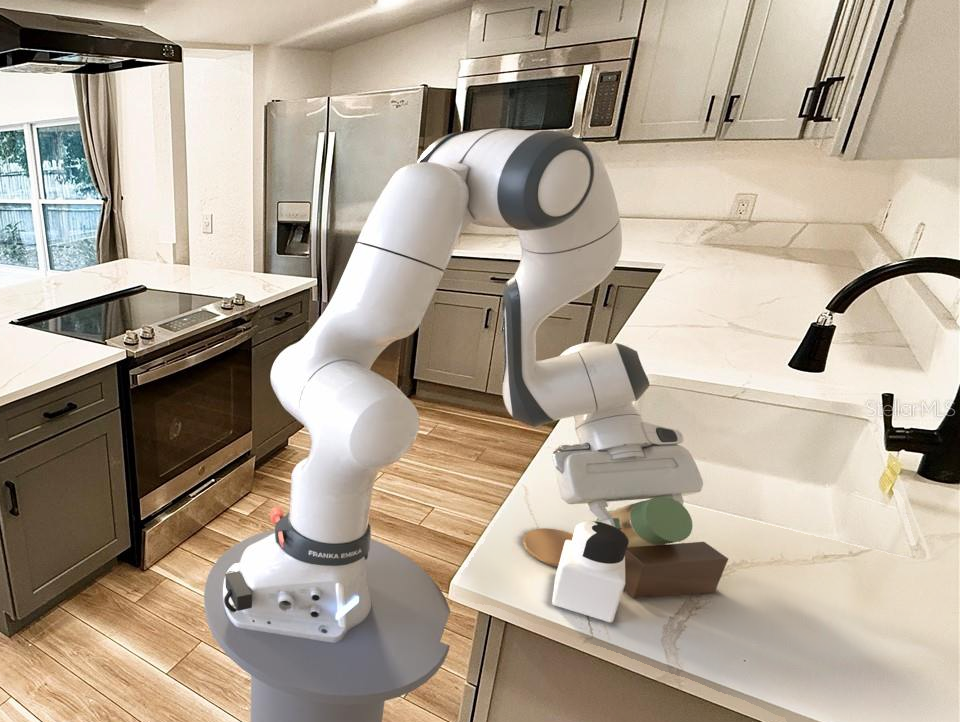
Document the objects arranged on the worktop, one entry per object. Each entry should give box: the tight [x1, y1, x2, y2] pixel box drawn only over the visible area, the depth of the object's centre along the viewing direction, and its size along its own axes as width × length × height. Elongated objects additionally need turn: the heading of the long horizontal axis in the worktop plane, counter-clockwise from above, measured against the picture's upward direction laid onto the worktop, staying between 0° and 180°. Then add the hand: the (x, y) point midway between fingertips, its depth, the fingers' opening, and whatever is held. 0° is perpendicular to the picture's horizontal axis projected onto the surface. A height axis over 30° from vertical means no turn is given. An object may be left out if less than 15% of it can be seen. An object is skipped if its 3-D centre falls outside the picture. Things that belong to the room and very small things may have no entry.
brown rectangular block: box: [623, 541, 729, 599], centre depth 92 cm, size 14×12×6 cm
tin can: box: [595, 497, 693, 547], centre depth 92 cm, size 12×7×12 cm, turn 3°
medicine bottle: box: [551, 520, 629, 623], centre depth 85 cm, size 7×7×12 cm
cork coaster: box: [522, 527, 574, 568], centre depth 98 cm, size 10×10×1 cm
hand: (644, 528), depth 92 cm, fingers open, 8 cm apart
